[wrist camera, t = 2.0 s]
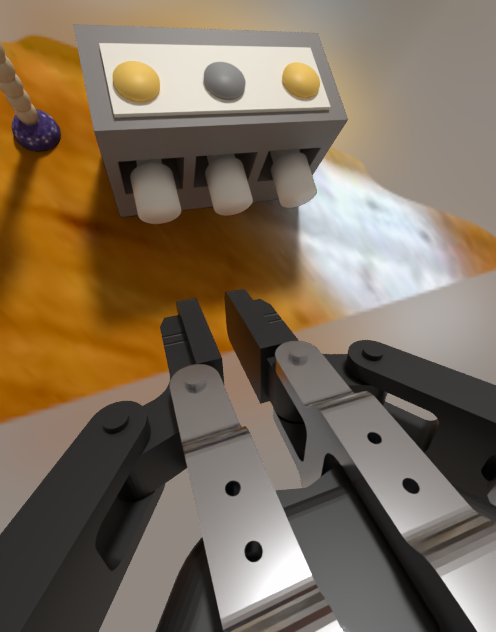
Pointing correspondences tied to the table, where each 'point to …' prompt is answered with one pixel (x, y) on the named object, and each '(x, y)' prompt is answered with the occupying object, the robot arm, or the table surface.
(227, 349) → the table surface
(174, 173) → the button box
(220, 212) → the button middle
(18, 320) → the table surface
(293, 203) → the button right
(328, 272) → the table surface
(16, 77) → the toy lamp
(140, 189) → the button left
